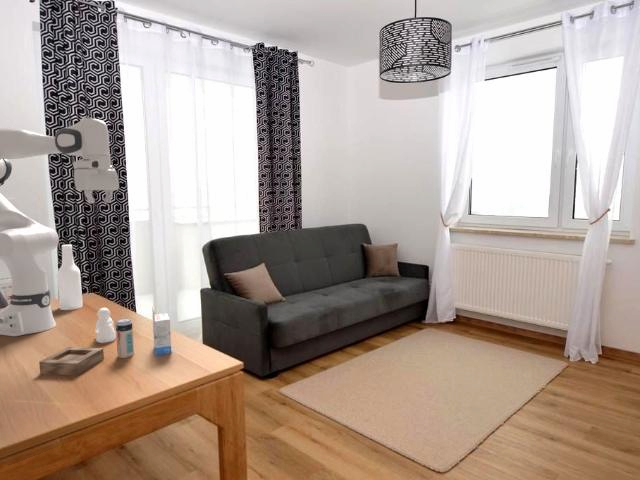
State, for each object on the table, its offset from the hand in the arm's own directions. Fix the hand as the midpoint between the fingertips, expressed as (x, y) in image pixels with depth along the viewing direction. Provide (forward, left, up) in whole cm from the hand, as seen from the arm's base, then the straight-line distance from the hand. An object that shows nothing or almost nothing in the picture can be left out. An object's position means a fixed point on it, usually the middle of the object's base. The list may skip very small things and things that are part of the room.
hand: (99, 202), depth 155 cm
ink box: (+29, -15, -49) cm, 59 cm away
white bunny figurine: (+4, -8, -49) cm, 50 cm away
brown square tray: (+8, -30, -49) cm, 58 cm away
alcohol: (-36, +27, -49) cm, 66 cm away
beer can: (+20, -21, -49) cm, 57 cm away
